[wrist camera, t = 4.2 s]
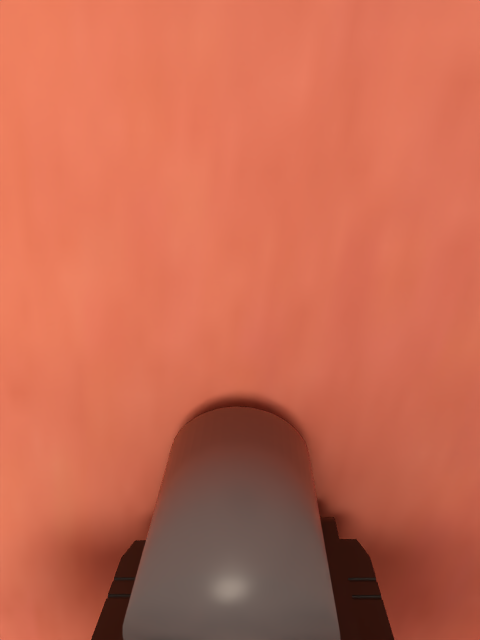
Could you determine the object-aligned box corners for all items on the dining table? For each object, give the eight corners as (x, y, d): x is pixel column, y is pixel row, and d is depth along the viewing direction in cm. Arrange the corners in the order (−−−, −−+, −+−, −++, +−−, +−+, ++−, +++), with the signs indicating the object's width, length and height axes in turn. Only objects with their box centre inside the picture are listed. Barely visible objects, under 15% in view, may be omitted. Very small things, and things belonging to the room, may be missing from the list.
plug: (310, 404, 9) (345, 570, 6) (309, 634, 13) (329, 823, 9) (160, 409, 10) (101, 573, 6) (201, 634, 13) (181, 819, 10)
